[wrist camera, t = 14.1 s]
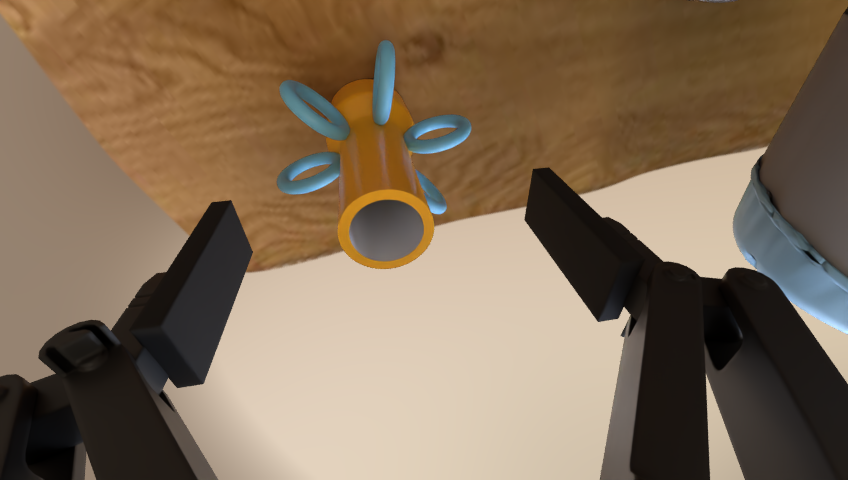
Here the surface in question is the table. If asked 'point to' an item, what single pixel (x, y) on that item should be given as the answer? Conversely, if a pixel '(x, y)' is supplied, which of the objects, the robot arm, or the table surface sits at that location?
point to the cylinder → (373, 164)
